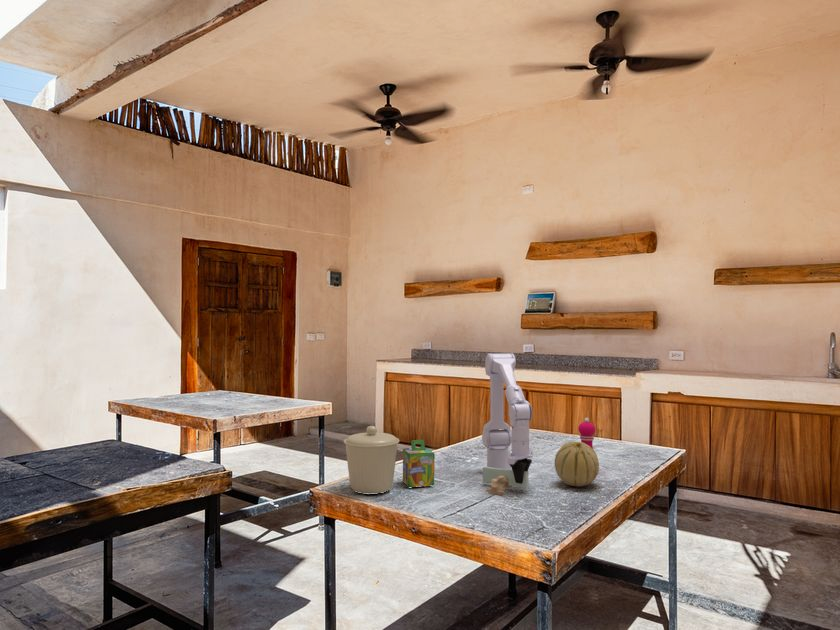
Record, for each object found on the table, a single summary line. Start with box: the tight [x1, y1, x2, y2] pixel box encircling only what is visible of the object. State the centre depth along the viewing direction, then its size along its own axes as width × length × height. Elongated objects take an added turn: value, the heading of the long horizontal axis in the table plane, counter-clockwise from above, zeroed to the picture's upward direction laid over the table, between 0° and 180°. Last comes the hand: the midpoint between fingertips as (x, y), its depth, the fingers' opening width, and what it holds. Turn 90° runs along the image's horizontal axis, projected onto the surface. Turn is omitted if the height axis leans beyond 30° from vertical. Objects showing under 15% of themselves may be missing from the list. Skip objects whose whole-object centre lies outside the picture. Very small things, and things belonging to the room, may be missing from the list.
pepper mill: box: [577, 417, 596, 450], centre depth 210 cm, size 7×7×20 cm
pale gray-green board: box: [481, 466, 530, 489], centre depth 189 cm, size 2×16×5 cm, turn 54°
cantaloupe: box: [554, 441, 600, 488], centre depth 192 cm, size 15×15×15 cm
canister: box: [343, 425, 400, 493], centre depth 186 cm, size 18×18×21 cm
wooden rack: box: [485, 476, 512, 496], centre depth 189 cm, size 16×6×4 cm, turn 145°
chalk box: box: [402, 439, 436, 488], centre depth 193 cm, size 9×9×15 cm
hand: (520, 482), depth 186 cm, fingers closed on pale gray-green board, 2 cm apart
